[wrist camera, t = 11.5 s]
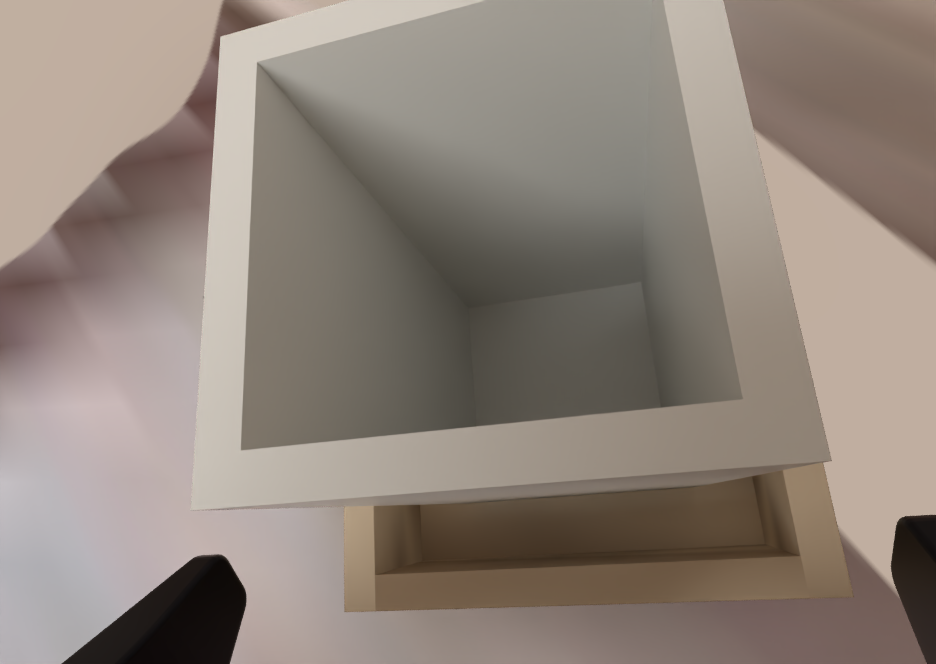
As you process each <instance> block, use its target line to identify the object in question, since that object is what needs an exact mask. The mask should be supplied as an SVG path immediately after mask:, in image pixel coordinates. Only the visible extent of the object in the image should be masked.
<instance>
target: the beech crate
mask: <svg viewBox="0 0 936 664" xmlns="http://www.w3.org/2000/svg"><path fill="white" fill-rule="evenodd" d="M842 597H854V596H853V591H852V587H851V583H850V578H849V574H848V570H847V565H846V561H845V557H844V552H843V548H842V544H841V539H840V535H839V530H838V526H837V522H836V518H835V513H834V509H833V505H832V500H831V496H830V492H829V487H828V483H827V478H826V474H825V470H824V465H823V463H817V464H812V465H807V466H802V467H797V468H792V469H786V470H781V471H776V472H771V473H766V474H761V475H755V476H750V477H745V478H740V479H735V480H730V481H724V482H719V483H714V484H709V485H704V486H699V487H690V488H676V489H662V490H649V491H635V492H621V493H607V494H593V495H579V496H565V497H551V498H537V499H524V500H510V501H496V502H482V503H467V504H428V505H389V506H350V507H344V599H345V612H364V611H398V610H433V609H467V608H501V607H535V606H569V605H603V604H637V603H671V602H705V601H739V600H773V599H808V598H842Z"/></svg>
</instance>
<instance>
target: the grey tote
mask: <svg viewBox="0 0 936 664" xmlns="http://www.w3.org/2000/svg"><path fill="white" fill-rule="evenodd" d="M828 461H831V456H830V452H829V448H828V444H827V439H826V435H825V431H824V427H823V423H822V418H821V414H820V410H819V406H818V401H817V397H816V393H815V389H814V384H813V380H812V376H811V371H810V367H809V363H808V359H807V355H806V350H805V346H804V342H803V337H802V333H801V329H800V325H799V320H798V317H797V312H796V308H795V303H794V299H793V295H792V291H791V286H790V283H789V278H788V274H787V269H786V265H785V261H784V257H783V253H782V248H781V244H780V240H779V236H778V231H777V227H776V223H775V219H774V214H773V210H772V206H771V202H770V198H769V194H768V189H767V185H766V180H765V176H764V172H763V168H762V163H761V159H760V155H759V151H758V147H757V142H756V138H755V134H754V129H753V125H752V121H751V117H750V112H749V108H748V104H747V100H746V95H745V91H744V87H743V83H742V78H741V74H740V70H739V66H738V61H737V57H736V53H735V49H734V44H733V40H732V36H731V32H730V27H729V23H728V19H727V15H726V11H725V6H724V2H723V0H348V1H345V2H341V3H338V4H334V5H331V6H327V7H324V8H320V9H317V10H313V11H310V12H306V13H303V14H299V15H296V16H292V17H289V18H285V19H281V20H278V21H274V22H271V23H267V24H264V25H260V26H257V27H253V28H250V29H246V30H243V31H239V32H236V33H232V34H229V35H225V36H222V37H221V40H220V56H219V72H218V87H217V103H216V119H215V134H214V150H213V166H212V182H211V197H210V213H209V229H208V244H207V260H206V276H205V291H204V307H203V323H202V339H201V354H200V370H199V386H198V401H197V417H196V433H195V449H194V464H193V480H192V496H191V511H194V510H233V509H272V508H311V507H350V506H389V505H428V504H467V503H482V502H496V501H510V500H524V499H537V498H551V497H565V496H579V495H593V494H607V493H621V492H635V491H649V490H662V489H676V488H690V487H699V486H704V485H709V484H714V483H719V482H724V481H730V480H735V479H740V478H745V477H750V476H755V475H761V474H766V473H771V472H776V471H781V470H786V469H792V468H797V467H802V466H807V465H812V464H817V463H823V462H828Z"/></svg>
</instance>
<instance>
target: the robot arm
mask: <svg viewBox="0 0 936 664" xmlns="http://www.w3.org/2000/svg"><path fill="white" fill-rule="evenodd" d="M891 571H892V577H893V580H894V584H895V586H896V589H897V591H898V594H899V596H900V599H901V601H902V604H903V606H904V609H905V611H906V614H907V616H908V619H909V621H910V623H911V626H912V628H913V631H914V633H915V636H916V638H917V641H918V643H919V646H920V648H921V651H922V653H923V655H924V658H925V660H926V663H927V664H936V515H922V516H905V517H902V518H901V519H899V521H898V522H897V525H896V531H895V540H894V546H893V554H892V561H891ZM245 607H246V591H245V589H244V587H243V585H242V583H241V581H240V580H239V578H238V576H237V575H236V573H235V571H234V570H233V568H232V566H231V564H230V563H229V561H228V560H227V558H226V557H224V556H223V555H219V554H217V555H201V556H197V557H195V558H193V559H191V560H190V561H189V562H188V563H186V564H185V565H184V566H183V567H181V568H180V569H179V570H178V571H176V572H175V573H174V574H173V575H171V576H170V577H169V578H168V579H166V580H165V581H164V582H163V583H161V584H160V585H159V586H158V587H156V588H155V589H154V590H153V591H152V592H150V593H149V594H148V595H147V596H145V597H144V598H143V599H142V600H140V601H139V602H138V603H137V604H135V605H134V606H133V607H132V608H130V609H129V610H128V611H127V612H125V613H124V614H123V615H122V616H120V617H119V618H118V619H117V620H115V621H114V622H113V623H112V624H110V625H109V626H108V627H107V628H105V629H104V630H103V631H102V632H100V633H99V634H98V635H97V636H96V637H94V638H93V639H92V640H91V641H89V642H88V643H87V644H86V645H84V646H83V647H82V648H81V649H79V650H78V651H77V652H76V653H74V654H73V655H72V656H71V657H69V658H68V659H67V660H66V661H64V662H63V663H62V664H230V661H231V657H232V654H233V650H234V647H235V643H236V640H237V636H238V632H239V629H240V625H241V622H242V618H243V615H244V611H245Z"/></svg>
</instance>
